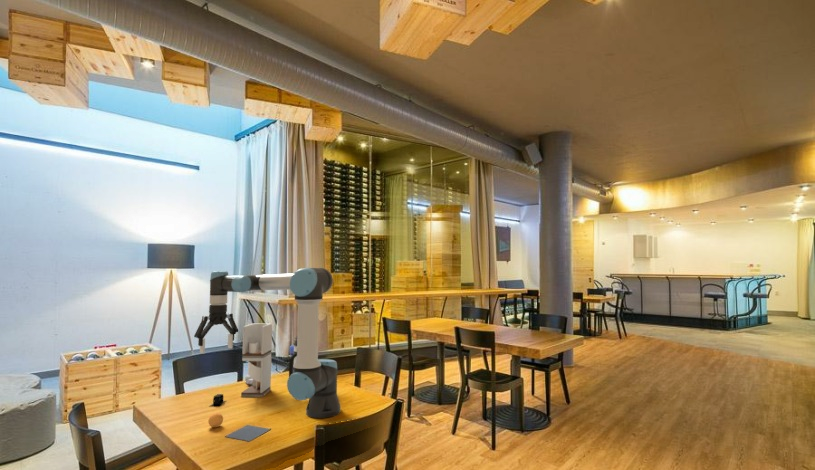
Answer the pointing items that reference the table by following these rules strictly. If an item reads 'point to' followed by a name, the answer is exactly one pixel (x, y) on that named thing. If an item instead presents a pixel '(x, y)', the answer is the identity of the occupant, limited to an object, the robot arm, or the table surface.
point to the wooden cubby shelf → (258, 357)
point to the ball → (215, 420)
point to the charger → (248, 380)
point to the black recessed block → (217, 400)
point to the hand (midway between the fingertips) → (216, 350)
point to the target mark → (247, 433)
